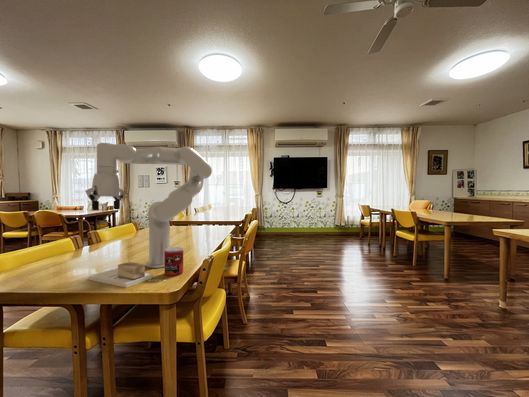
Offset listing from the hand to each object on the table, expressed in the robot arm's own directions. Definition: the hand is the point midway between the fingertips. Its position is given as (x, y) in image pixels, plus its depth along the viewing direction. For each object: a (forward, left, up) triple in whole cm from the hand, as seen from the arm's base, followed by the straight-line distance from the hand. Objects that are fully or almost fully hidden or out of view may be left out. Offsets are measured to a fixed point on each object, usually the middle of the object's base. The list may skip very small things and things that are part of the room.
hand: (106, 209), depth 108 cm
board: (+3, +13, -28) cm, 31 cm away
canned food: (-11, +28, -28) cm, 42 cm away
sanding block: (+3, +19, -27) cm, 33 cm away
